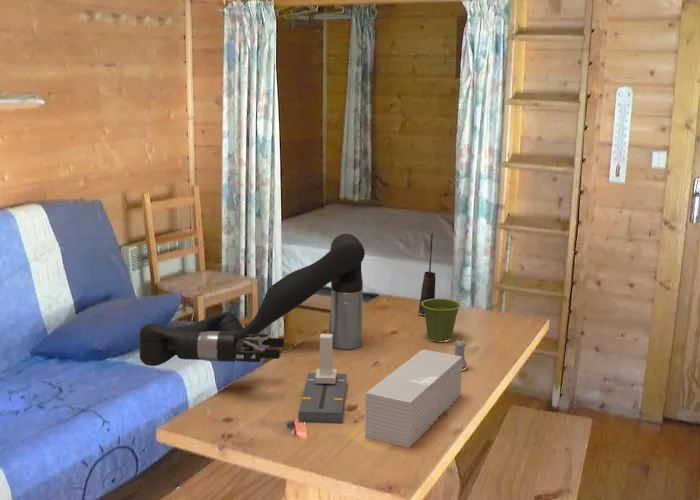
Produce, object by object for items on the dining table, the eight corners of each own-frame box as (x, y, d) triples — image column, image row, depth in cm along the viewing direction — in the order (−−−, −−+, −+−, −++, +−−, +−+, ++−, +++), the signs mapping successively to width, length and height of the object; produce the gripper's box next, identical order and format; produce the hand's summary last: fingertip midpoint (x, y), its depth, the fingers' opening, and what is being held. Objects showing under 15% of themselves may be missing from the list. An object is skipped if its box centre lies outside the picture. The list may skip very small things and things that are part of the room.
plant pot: (412, 339, 236) (413, 303, 233) (435, 330, 244) (436, 296, 242) (443, 348, 228) (445, 312, 225) (466, 339, 236) (468, 303, 234)
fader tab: (317, 374, 199) (317, 331, 196) (336, 374, 199) (336, 332, 196) (315, 383, 193) (315, 339, 190) (335, 383, 193) (335, 339, 190)
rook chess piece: (468, 367, 213) (469, 339, 211) (465, 372, 209) (466, 344, 207) (452, 365, 214) (453, 337, 213) (449, 370, 210) (450, 342, 209)
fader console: (308, 381, 202) (308, 371, 201) (346, 382, 201) (346, 372, 201) (298, 421, 178) (298, 410, 178) (341, 422, 178) (341, 411, 177)
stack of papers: (421, 388, 198) (422, 349, 196) (460, 396, 194) (462, 356, 191) (364, 438, 171) (365, 392, 169) (408, 449, 166) (410, 402, 164)
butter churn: (433, 321, 253) (436, 238, 247) (407, 316, 258) (409, 234, 252) (444, 314, 261) (447, 233, 255) (419, 310, 266) (421, 230, 260)
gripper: (224, 350, 203) (285, 352, 202) (212, 370, 189) (278, 372, 188) (223, 323, 201) (285, 325, 201) (211, 341, 187) (278, 343, 187)
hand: (281, 348), depth 194 cm, fingers open, 8 cm apart
